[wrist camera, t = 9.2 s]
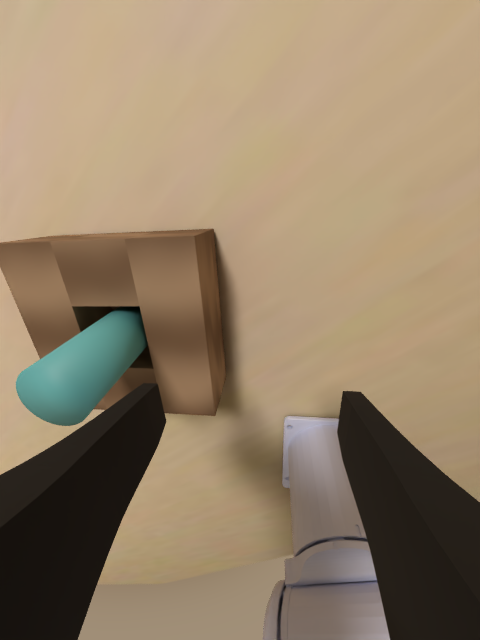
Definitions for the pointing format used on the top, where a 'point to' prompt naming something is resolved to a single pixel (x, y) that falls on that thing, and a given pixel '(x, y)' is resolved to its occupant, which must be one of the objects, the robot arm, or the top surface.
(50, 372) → the peg
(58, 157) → the top surface
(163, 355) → the socket block
